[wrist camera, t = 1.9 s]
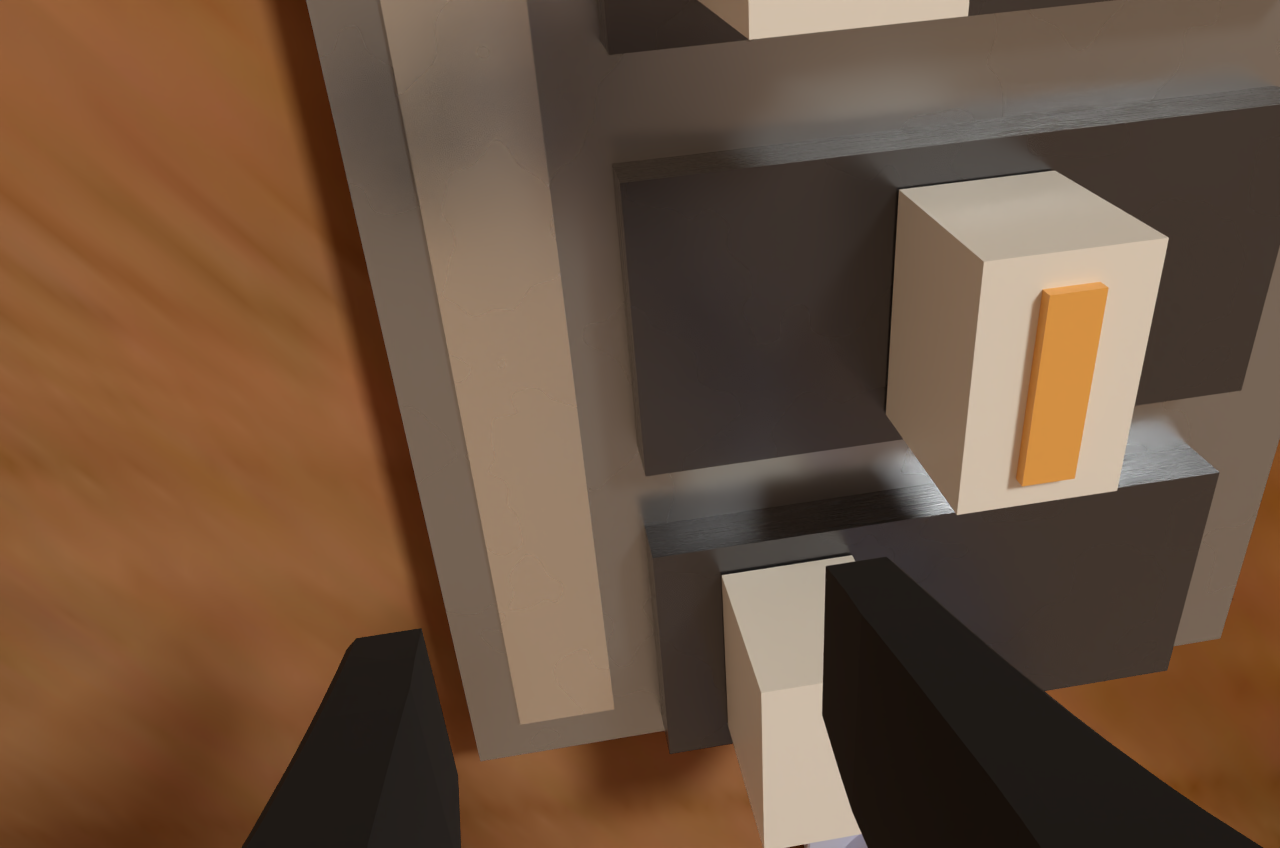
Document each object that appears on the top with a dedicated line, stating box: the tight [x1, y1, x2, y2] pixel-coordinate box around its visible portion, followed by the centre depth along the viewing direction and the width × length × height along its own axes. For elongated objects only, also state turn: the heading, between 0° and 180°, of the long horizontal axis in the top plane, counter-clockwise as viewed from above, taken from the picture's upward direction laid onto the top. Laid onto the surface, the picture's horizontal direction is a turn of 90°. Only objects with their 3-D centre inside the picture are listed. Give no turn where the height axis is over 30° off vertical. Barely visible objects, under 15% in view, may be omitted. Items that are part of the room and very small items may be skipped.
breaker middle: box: [886, 171, 1169, 515], centre depth 15 cm, size 4×2×3 cm, turn 4°
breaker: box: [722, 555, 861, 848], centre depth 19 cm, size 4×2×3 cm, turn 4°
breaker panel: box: [306, 0, 1280, 761], centre depth 18 cm, size 20×17×2 cm
